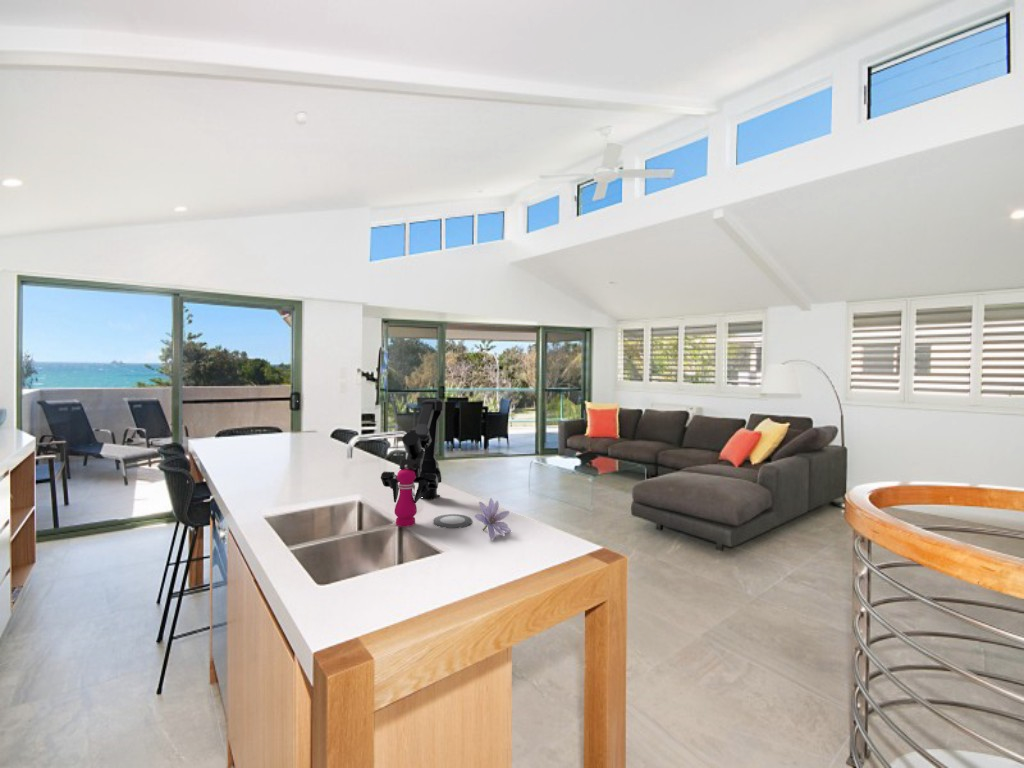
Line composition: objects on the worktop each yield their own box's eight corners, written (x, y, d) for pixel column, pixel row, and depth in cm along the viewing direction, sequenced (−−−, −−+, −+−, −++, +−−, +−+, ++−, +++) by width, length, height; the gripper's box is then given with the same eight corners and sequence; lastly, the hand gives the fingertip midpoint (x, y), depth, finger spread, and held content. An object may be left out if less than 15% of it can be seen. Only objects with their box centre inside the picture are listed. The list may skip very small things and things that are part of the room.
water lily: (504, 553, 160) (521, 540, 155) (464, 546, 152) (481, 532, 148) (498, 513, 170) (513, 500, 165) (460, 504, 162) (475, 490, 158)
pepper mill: (408, 519, 171) (409, 461, 170) (420, 524, 165) (422, 464, 165) (390, 523, 165) (391, 463, 165) (402, 528, 160) (403, 466, 160)
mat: (447, 513, 178) (447, 511, 178) (478, 519, 172) (479, 517, 172) (425, 523, 166) (425, 521, 166) (458, 530, 160) (458, 528, 160)
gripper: (382, 447, 169) (371, 488, 158) (437, 450, 168) (429, 490, 157) (389, 466, 177) (378, 505, 167) (441, 468, 176) (434, 508, 165)
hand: (404, 502), depth 164 cm, fingers open, 6 cm apart
